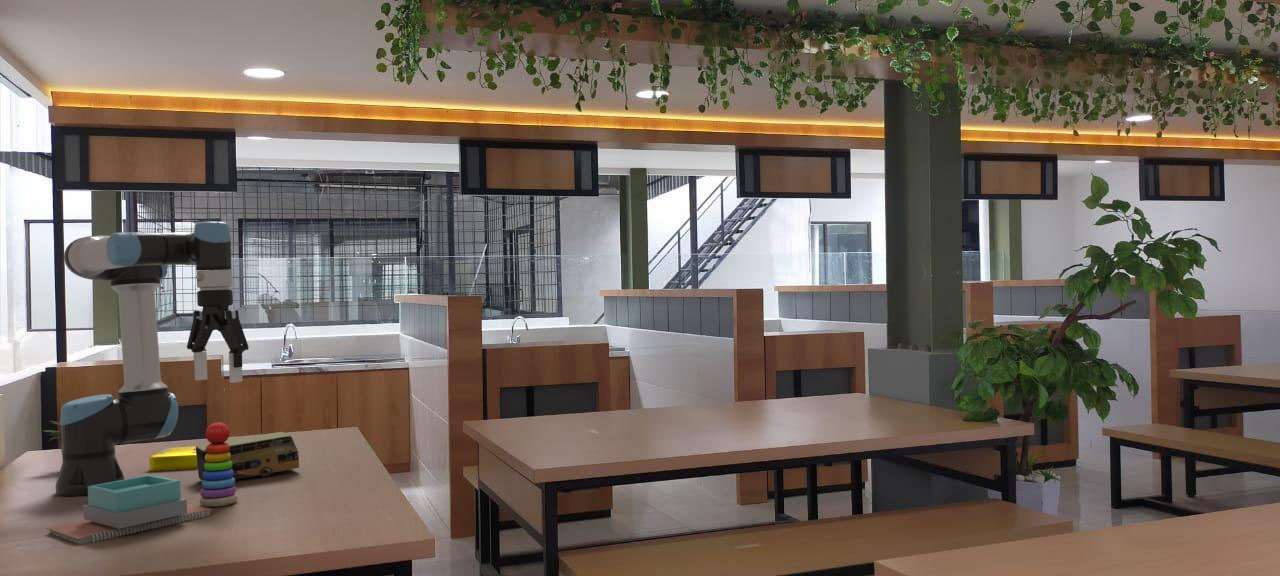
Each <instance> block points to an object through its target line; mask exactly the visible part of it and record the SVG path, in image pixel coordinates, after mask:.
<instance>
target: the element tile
mask: <svg viewBox="0 0 1280 576" xmlns="http://www.w3.org/2000/svg"><path fill="white" fill-rule="evenodd" d="M196 446H197V445H195V446H181V447H167V448H165V449H164V450H161V451H159V452H156V453H155V454H153V455H150V456H149V457H148V458H149V459H148V460H149V461H148V462H149V471H151V472H157V471H158V472H159V471H162V472H163V471H175V470H176V471H177V470H193V469H198V465H197V455H196Z"/></svg>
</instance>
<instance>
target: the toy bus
mask: <svg viewBox="0 0 1280 576" xmlns="http://www.w3.org/2000/svg"><path fill="white" fill-rule="evenodd" d="M224 443H228V444H229V445H230V449H229V450H228V451H227V452H229V453H230V454H231V457H230V459H229V460H230V461H232V467H231V469H232V470H233V476H232V477H233V478H234V479H235V480H240V479H245V478H246V479H247V478H250V477H251V478H252V477H257V476H261V477H262V478H263V479H265V478H266V479H268V478H269V477H271V475H272V474H273V473H278V472H283V471H289V470H295V469H299V468H300V458H299V450H298V447H297V445H296V443H295V441H294V438H293V436H291V435H290V434H287V433H286V432H283V431H278V432H272V433H266V434H260V435H253V436H247V437H240V438H236V439H235V438H234V439H230V440H228V439H227V440H226V441H225V442H224ZM209 444H212V443H210V442H209V443H205V444H204V443H203V444H199V445H195V446H196V455H197V465H198V468H197V474H198V479H200V480H201V482H203V480H205V479H204V478H203V473H204V472H205V471H206V470H205V468H204V464H205V463H206V462H207V461H206V460H205V455H206V454H208V452H207V451H206V446H207V445H209Z"/></svg>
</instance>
